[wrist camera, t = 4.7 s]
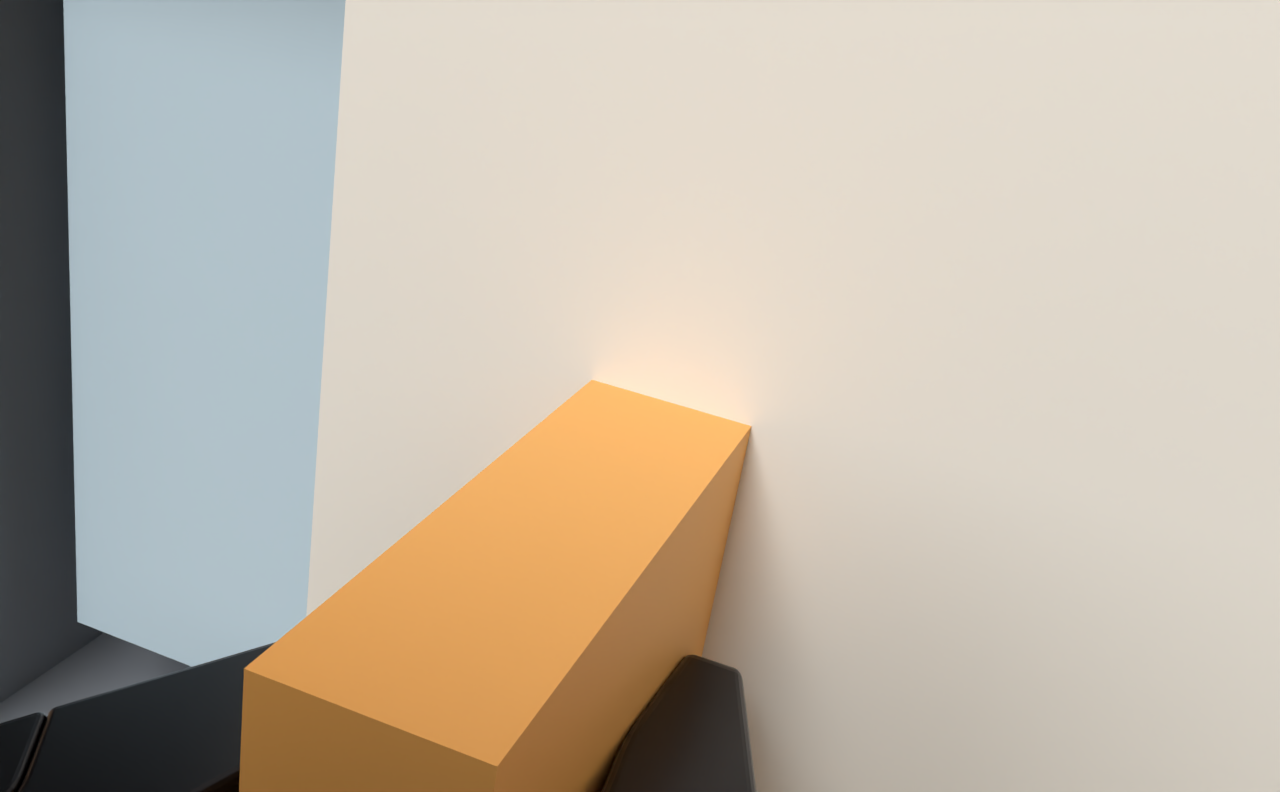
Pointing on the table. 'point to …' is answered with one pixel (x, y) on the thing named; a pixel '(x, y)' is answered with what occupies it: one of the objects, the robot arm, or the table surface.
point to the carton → (158, 331)
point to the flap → (796, 396)
